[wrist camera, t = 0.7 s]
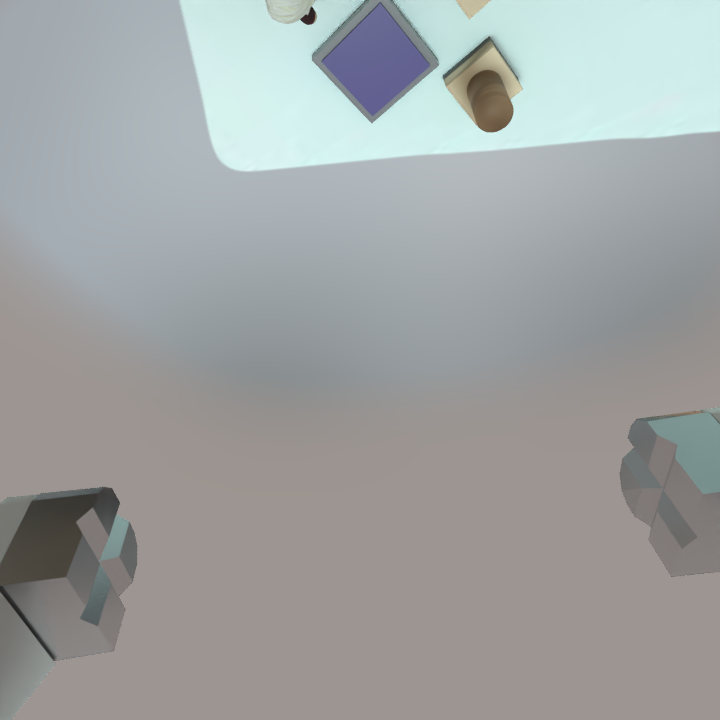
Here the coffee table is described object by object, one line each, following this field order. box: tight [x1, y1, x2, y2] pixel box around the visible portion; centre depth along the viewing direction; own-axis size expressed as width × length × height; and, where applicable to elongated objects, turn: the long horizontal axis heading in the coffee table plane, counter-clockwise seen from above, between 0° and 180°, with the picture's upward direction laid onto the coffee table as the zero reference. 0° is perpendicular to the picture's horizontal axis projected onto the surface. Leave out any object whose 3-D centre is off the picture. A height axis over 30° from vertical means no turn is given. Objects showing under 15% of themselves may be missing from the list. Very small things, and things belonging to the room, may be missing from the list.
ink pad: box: [312, 0, 439, 123], centre depth 51 cm, size 8×8×1 cm
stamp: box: [443, 37, 523, 132], centre depth 51 cm, size 5×5×7 cm
